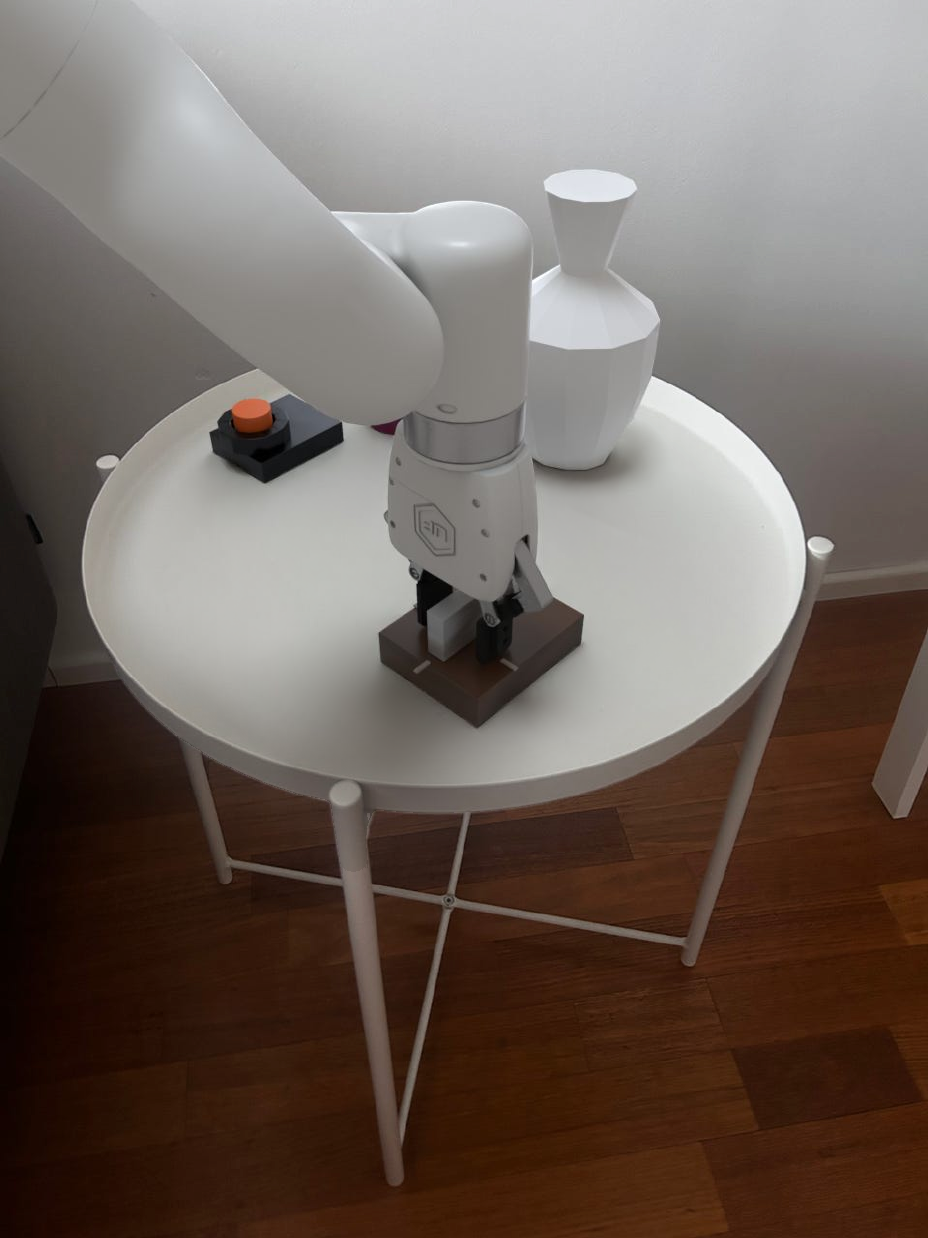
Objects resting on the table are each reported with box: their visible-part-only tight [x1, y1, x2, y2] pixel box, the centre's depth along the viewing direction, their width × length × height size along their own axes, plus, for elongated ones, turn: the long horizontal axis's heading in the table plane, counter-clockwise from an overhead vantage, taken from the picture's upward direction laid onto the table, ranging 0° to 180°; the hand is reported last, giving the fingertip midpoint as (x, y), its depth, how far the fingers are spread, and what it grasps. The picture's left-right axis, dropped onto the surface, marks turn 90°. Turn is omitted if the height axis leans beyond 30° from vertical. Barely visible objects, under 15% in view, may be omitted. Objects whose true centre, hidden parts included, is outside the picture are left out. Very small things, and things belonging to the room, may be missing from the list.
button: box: [231, 398, 273, 433], centre depth 95 cm, size 4×4×2 cm
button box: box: [208, 393, 345, 484], centre depth 97 cm, size 11×8×4 cm
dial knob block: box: [377, 586, 585, 728], centre depth 76 cm, size 13×10×3 cm
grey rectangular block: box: [427, 590, 499, 662], centre depth 73 cm, size 6×2×4 cm, turn 137°
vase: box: [524, 168, 661, 471], centre depth 90 cm, size 14×14×25 cm
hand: (464, 632), depth 74 cm, fingers open, 5 cm apart
